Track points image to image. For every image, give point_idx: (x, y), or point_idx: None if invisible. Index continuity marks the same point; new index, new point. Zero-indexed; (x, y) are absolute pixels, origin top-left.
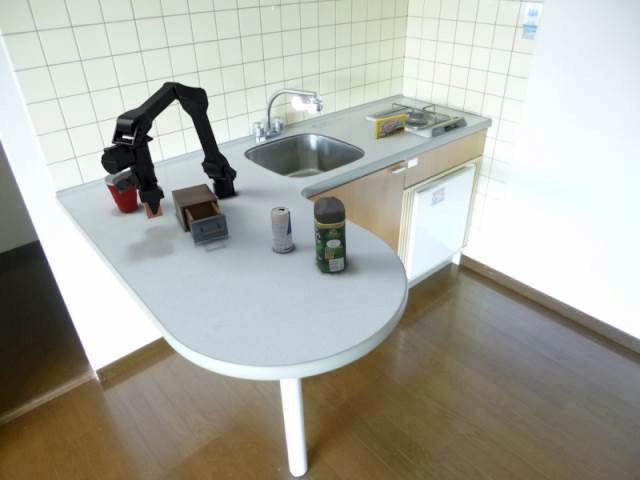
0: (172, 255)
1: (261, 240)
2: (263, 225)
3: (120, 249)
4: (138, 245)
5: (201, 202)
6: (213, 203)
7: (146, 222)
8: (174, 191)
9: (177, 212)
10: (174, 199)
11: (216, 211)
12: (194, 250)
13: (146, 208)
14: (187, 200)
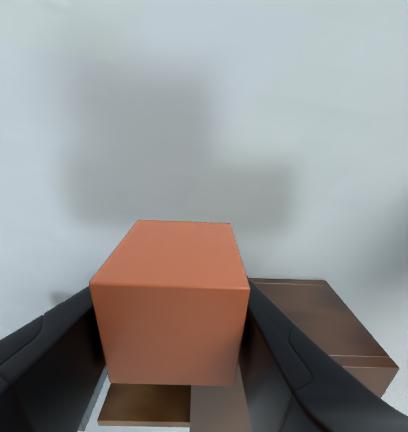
0: (65, 213)
1: None
2: None
3: (194, 39)
4: (187, 123)
5: (190, 418)
6: (182, 425)
7: (347, 187)
8: (381, 376)
9: (297, 296)
10: (329, 345)
11: (128, 413)
12: (73, 270)
13: (103, 271)
14: (243, 392)
